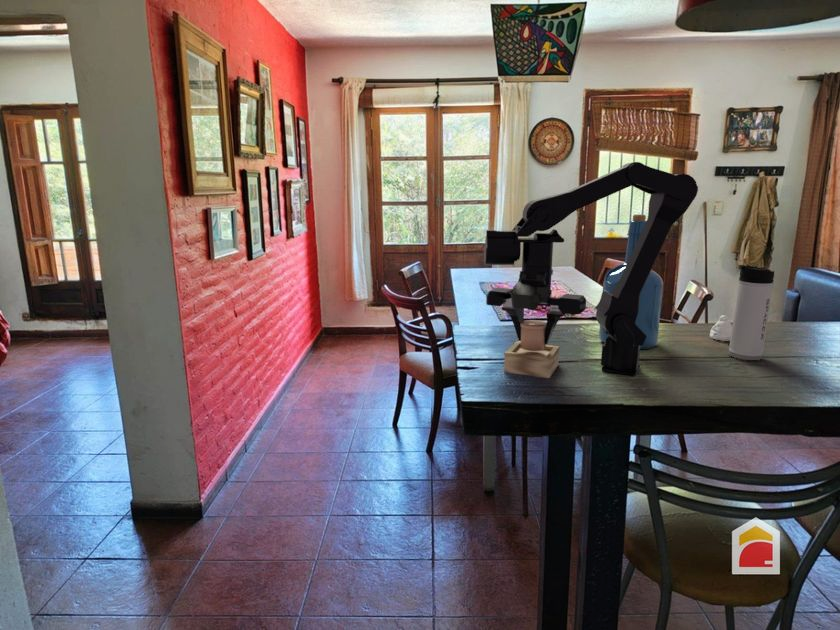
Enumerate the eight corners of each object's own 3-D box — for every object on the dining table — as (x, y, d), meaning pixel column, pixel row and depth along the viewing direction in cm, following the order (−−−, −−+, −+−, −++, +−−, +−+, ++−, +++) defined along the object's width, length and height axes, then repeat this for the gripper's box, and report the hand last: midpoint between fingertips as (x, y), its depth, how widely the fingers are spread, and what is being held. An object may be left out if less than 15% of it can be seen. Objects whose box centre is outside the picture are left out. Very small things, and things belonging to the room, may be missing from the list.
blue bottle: (630, 333, 135) (641, 213, 129) (670, 347, 123) (685, 215, 116) (585, 338, 131) (594, 214, 124) (623, 353, 119) (635, 216, 112)
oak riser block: (558, 366, 111) (559, 346, 110) (549, 379, 103) (550, 358, 102) (515, 360, 115) (516, 341, 114) (503, 373, 107) (504, 352, 106)
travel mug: (722, 351, 120) (734, 263, 116) (754, 353, 119) (768, 264, 114) (732, 360, 114) (745, 267, 110) (766, 362, 113) (781, 268, 108)
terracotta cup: (549, 345, 109) (551, 322, 108) (541, 352, 104) (543, 327, 103) (524, 342, 112) (525, 318, 110) (515, 348, 107) (516, 324, 106)
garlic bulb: (709, 312, 132) (733, 313, 131) (706, 335, 134) (730, 337, 132) (716, 317, 127) (741, 318, 126) (713, 341, 128) (738, 343, 127)
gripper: (476, 267, 102) (474, 345, 105) (575, 274, 93) (569, 360, 97) (497, 260, 111) (495, 332, 115) (589, 266, 102) (583, 344, 106)
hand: (533, 342), depth 108 cm, fingers closed on terracotta cup, 5 cm apart
